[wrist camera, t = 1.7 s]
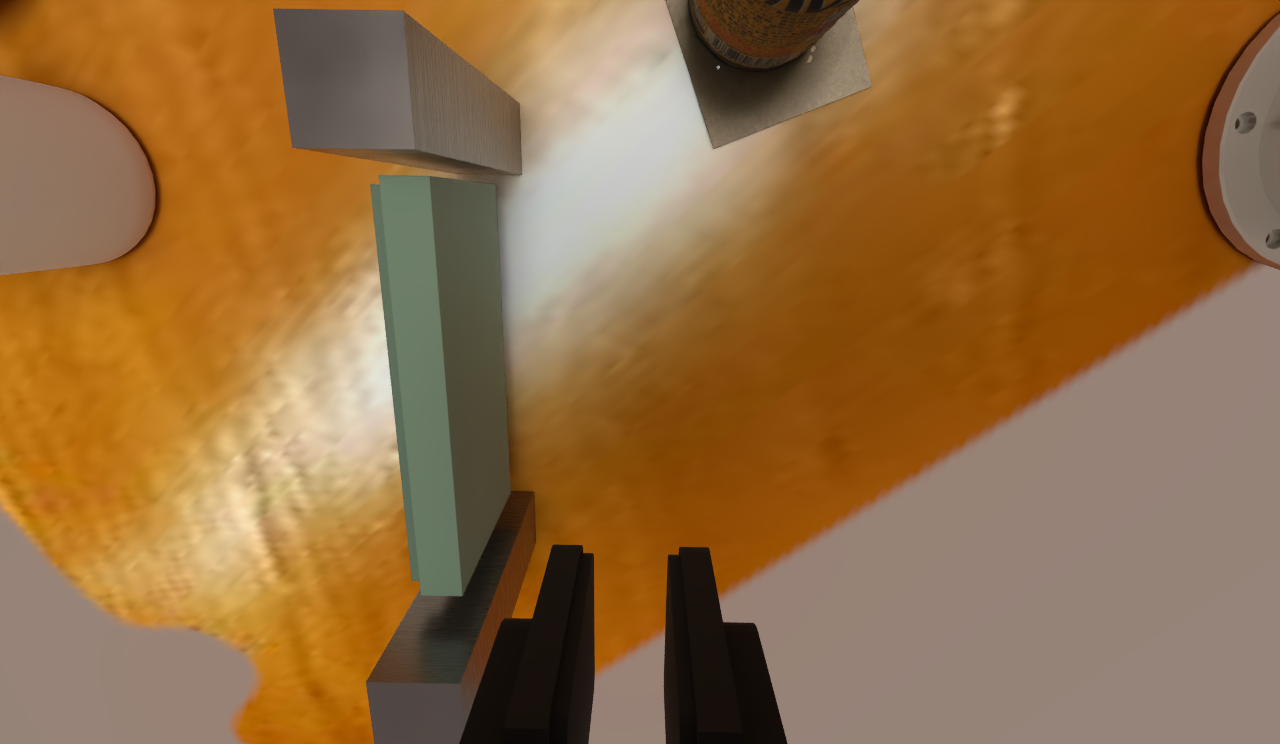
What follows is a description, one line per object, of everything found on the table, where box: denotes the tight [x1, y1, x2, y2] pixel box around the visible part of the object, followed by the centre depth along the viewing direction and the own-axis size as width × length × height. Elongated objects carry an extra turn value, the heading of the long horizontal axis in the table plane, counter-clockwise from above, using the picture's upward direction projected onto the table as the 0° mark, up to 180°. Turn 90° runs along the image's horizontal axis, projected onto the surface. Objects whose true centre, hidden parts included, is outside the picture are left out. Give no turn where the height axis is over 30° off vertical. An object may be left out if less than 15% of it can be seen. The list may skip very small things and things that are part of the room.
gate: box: [370, 175, 511, 596], centre depth 23 cm, size 14×2×8 cm, turn 179°
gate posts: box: [273, 9, 536, 744], centre depth 23 cm, size 3×22×13 cm, turn 179°
